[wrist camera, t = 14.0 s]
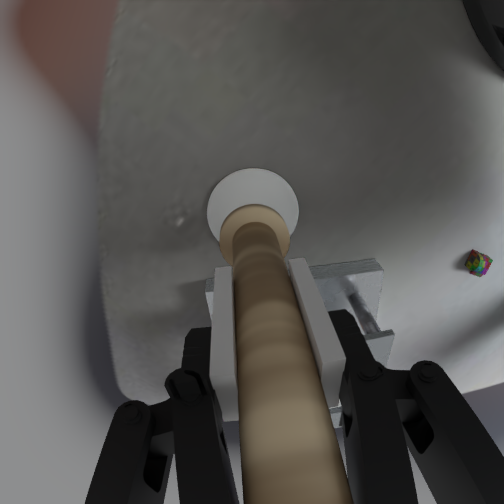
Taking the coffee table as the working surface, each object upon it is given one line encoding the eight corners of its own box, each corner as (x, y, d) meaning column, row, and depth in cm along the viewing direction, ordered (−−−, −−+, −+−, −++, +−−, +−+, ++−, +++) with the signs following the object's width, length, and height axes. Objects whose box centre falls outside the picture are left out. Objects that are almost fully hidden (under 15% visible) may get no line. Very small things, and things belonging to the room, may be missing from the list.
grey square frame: (206, 279, 27) (199, 346, 20) (375, 258, 27) (416, 314, 20) (231, 387, 34) (232, 448, 27) (358, 368, 34) (379, 424, 27)
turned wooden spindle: (215, 208, 19) (192, 513, 4) (285, 200, 20) (409, 478, 4) (224, 268, 22) (228, 541, 6) (288, 261, 22) (366, 520, 7)
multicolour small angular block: (458, 270, 29) (470, 281, 27) (470, 247, 28) (482, 258, 26) (478, 276, 30) (489, 287, 28) (489, 256, 28) (501, 266, 26)
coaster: (201, 173, 23) (200, 175, 22) (295, 163, 23) (296, 164, 22) (214, 257, 26) (214, 259, 25) (299, 247, 26) (300, 249, 26)
